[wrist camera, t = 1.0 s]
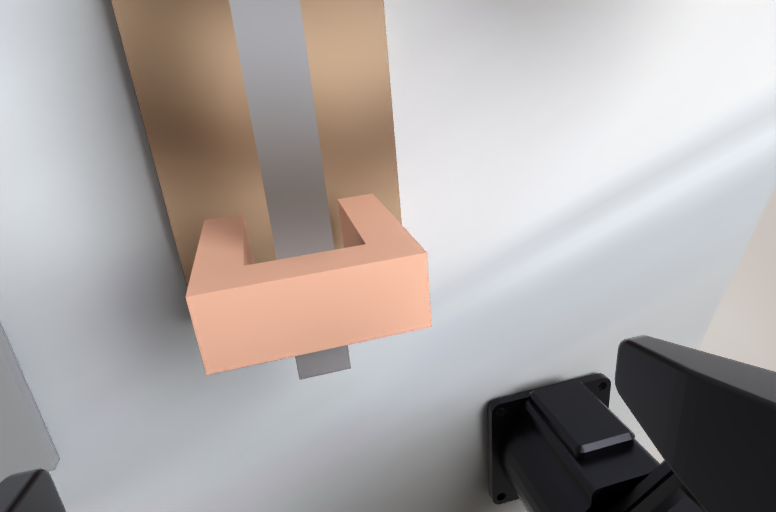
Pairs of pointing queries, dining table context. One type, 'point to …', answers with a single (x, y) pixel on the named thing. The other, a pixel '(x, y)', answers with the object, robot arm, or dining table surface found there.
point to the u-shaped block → (306, 290)
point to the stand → (265, 120)
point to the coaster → (20, 421)
